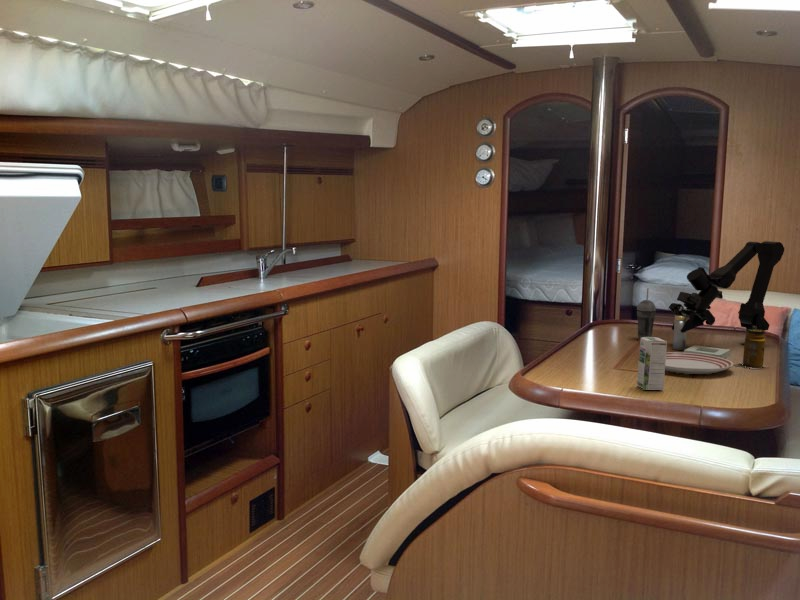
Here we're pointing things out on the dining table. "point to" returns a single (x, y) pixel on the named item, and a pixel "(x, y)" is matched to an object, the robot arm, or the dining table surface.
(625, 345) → the dining table surface
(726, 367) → the dinner plate
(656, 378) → the syrup box
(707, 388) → the dining table surface
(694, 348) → the white flat square frame
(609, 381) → the dining table surface
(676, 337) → the jar with gold lid
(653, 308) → the beverage cup
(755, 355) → the condiment
